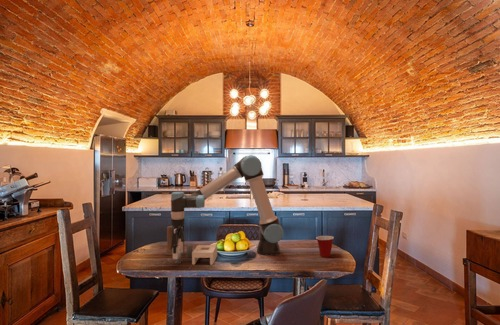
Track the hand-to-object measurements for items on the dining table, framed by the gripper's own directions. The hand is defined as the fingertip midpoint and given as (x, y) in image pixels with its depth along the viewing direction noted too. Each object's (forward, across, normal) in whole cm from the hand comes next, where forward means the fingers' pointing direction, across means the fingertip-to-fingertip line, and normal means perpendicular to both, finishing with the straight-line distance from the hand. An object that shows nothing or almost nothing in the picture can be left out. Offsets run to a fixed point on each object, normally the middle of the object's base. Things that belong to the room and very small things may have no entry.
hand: (178, 255), depth 188 cm
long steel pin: (+4, 0, 0) cm, 4 cm away
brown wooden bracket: (+4, -15, -6) cm, 17 cm away
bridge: (+4, -5, +15) cm, 16 cm away
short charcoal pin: (+4, -12, +4) cm, 13 cm away
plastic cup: (+4, -16, +88) cm, 90 cm away
